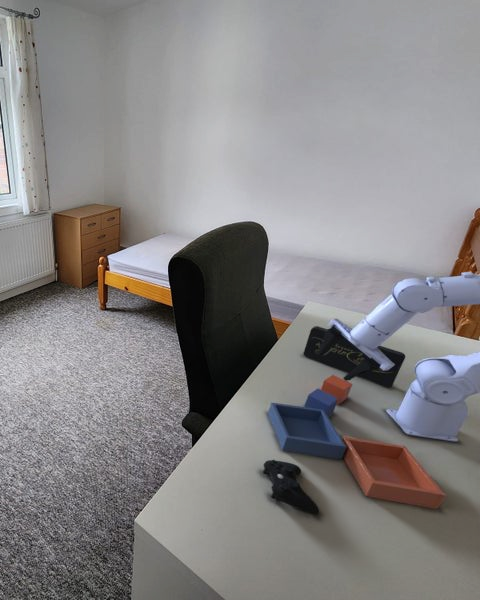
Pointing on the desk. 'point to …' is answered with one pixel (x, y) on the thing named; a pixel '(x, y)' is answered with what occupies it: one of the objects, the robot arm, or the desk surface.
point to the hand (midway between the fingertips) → (332, 366)
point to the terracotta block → (337, 388)
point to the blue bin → (306, 431)
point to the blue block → (321, 401)
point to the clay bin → (391, 473)
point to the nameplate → (352, 357)
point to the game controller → (288, 486)
